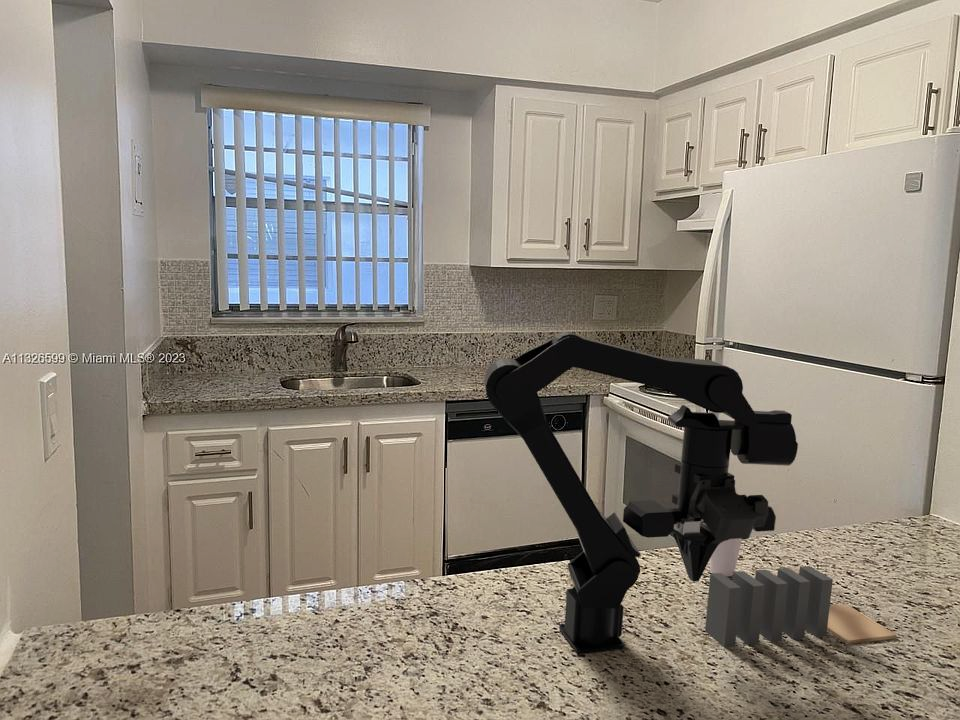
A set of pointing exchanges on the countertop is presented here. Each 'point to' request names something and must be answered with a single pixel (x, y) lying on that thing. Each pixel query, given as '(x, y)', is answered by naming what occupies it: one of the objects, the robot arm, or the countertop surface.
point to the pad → (855, 626)
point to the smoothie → (725, 557)
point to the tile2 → (749, 607)
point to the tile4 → (795, 603)
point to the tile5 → (817, 601)
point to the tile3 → (772, 605)
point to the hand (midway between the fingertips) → (693, 580)
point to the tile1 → (722, 609)
